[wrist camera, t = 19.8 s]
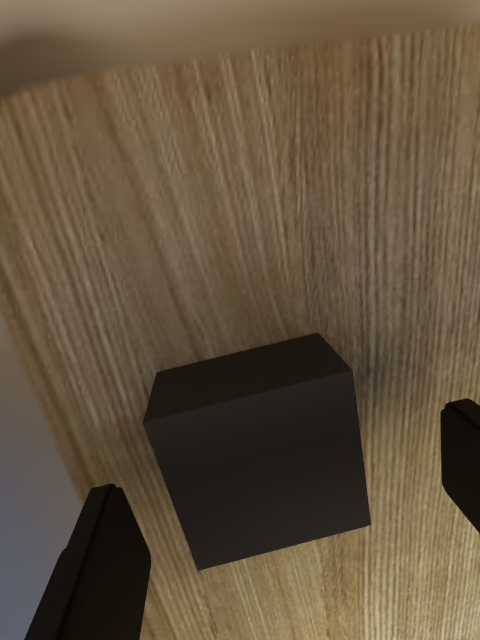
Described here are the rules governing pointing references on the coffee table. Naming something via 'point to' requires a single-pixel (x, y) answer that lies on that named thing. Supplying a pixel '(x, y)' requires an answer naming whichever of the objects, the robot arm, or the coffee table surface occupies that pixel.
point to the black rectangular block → (260, 449)
